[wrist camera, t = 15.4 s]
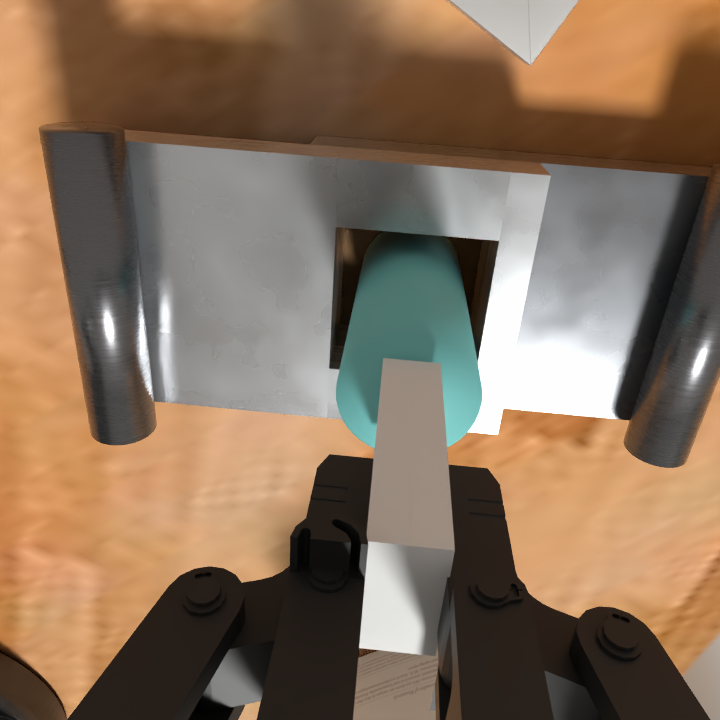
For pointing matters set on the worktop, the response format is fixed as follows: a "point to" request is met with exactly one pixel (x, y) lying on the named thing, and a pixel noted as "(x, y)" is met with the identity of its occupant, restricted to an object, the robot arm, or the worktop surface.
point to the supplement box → (395, 686)
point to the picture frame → (518, 22)
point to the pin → (409, 330)
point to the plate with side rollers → (325, 274)
